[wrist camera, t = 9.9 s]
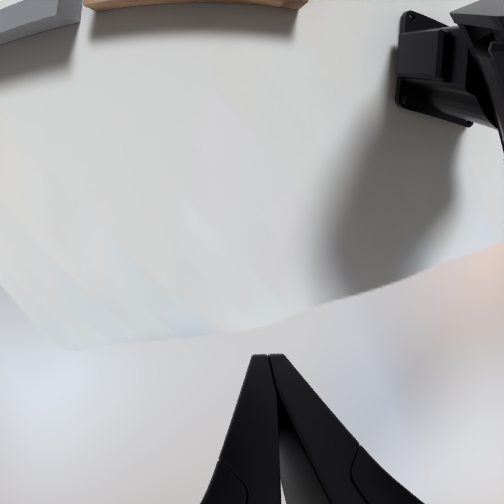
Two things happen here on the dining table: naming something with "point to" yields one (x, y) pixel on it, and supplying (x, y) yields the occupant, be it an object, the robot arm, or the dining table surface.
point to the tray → (113, 0)
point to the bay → (37, 17)
